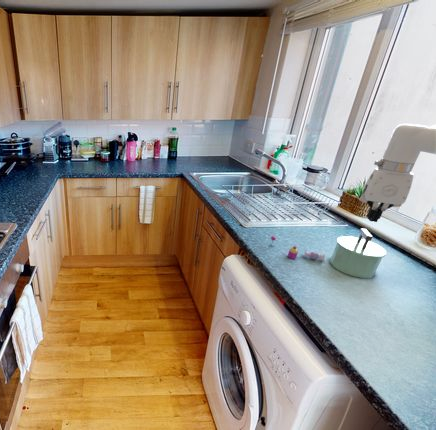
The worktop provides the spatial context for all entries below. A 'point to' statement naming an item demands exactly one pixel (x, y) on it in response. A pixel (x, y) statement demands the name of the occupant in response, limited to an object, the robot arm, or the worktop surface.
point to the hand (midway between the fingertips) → (371, 219)
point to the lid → (361, 245)
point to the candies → (313, 255)
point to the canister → (354, 263)
